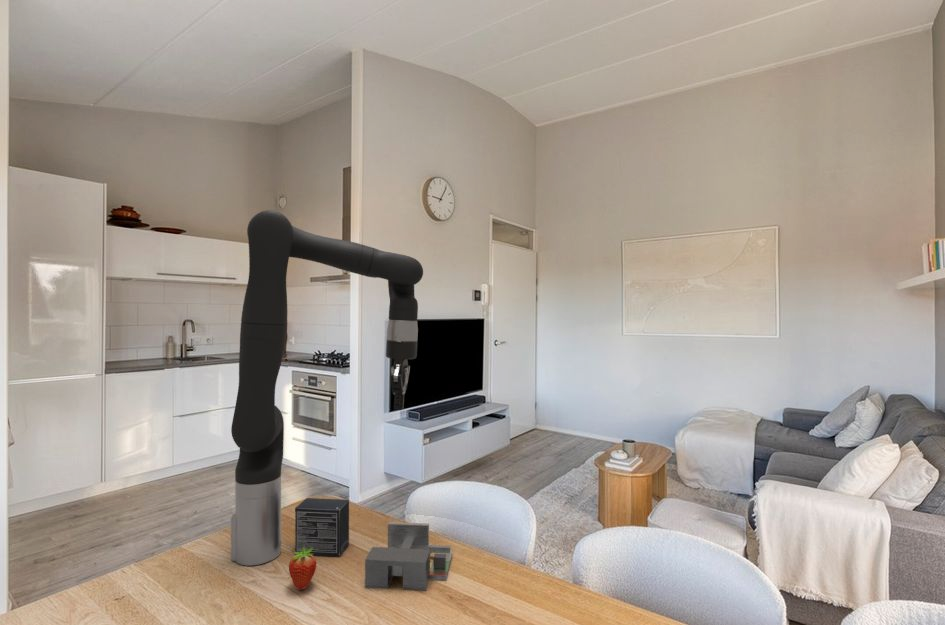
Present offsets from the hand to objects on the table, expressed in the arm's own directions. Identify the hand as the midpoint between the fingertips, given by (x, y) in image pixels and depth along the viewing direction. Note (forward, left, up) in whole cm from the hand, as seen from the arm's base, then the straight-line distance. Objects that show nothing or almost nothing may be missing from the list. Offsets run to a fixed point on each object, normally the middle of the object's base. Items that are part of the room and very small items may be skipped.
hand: (398, 409), depth 118 cm
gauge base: (+7, -18, -30) cm, 35 cm away
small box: (-15, -11, -30) cm, 35 cm away
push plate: (+8, -17, -30) cm, 35 cm away
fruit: (-13, -26, -30) cm, 42 cm away
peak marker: (+13, -18, -29) cm, 36 cm away
